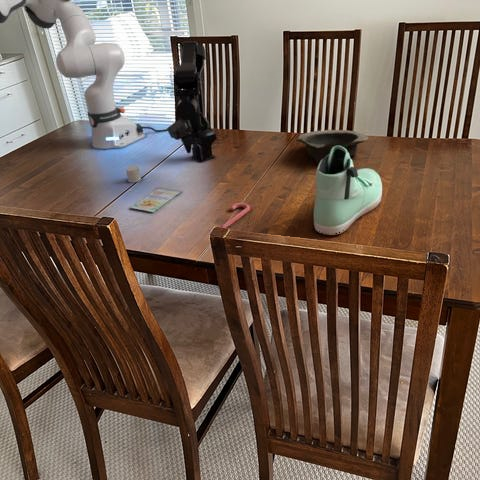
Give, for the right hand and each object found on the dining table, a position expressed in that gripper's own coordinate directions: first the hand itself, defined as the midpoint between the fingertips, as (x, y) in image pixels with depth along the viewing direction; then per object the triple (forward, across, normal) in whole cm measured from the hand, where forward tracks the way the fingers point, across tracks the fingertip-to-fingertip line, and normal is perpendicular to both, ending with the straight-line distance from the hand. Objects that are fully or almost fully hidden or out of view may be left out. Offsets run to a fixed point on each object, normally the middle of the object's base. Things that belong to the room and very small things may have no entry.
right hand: (196, 156), depth 160 cm
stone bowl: (+8, +19, +45) cm, 50 cm away
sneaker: (+8, +50, +19) cm, 54 cm away
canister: (+8, -16, -16) cm, 24 cm away
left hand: (-26, -58, -48) cm, 80 cm away
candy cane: (+8, +31, -9) cm, 33 cm away
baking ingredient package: (+8, +4, -19) cm, 21 cm away
